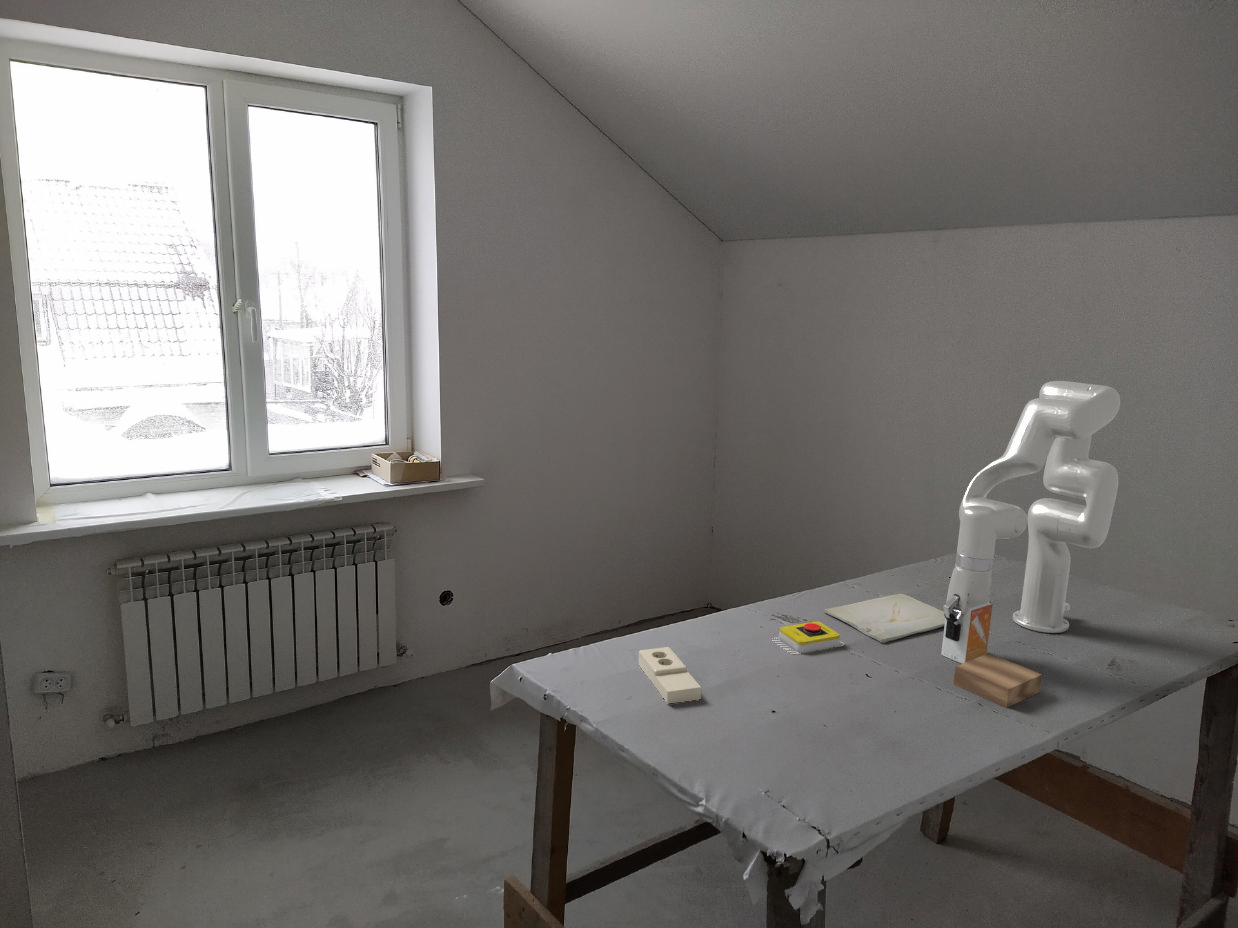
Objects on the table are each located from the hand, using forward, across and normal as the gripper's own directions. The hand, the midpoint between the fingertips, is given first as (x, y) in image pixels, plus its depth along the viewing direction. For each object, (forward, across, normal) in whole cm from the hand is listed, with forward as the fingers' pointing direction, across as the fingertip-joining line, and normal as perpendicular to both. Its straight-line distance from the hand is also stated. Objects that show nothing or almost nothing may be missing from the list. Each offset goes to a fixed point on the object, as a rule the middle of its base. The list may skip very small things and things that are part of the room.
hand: (965, 634), depth 193 cm
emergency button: (+6, +24, -24) cm, 35 cm away
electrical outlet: (+7, +64, -26) cm, 69 cm away
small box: (+6, 0, 0) cm, 6 cm away
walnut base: (+5, +8, +13) cm, 16 cm away
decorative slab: (+6, -4, -23) cm, 24 cm away
